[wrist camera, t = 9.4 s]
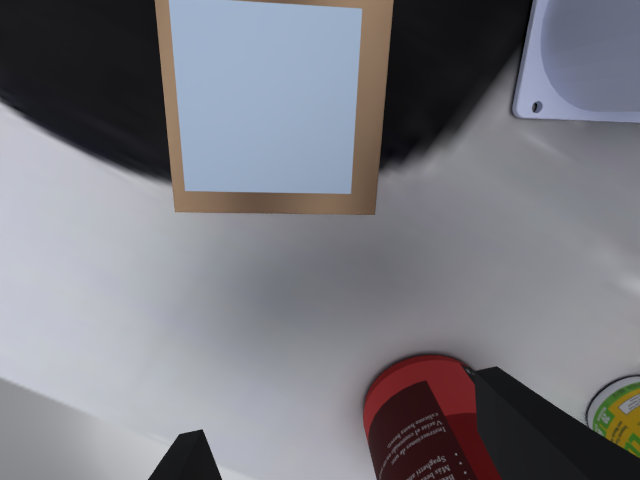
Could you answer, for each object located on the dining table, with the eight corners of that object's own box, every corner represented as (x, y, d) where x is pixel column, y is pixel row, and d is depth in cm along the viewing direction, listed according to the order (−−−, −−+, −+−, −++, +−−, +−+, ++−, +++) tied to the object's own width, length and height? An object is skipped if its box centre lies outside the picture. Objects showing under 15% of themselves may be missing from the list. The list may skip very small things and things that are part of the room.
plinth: (383, 0, 16) (395, -14, 14) (367, 206, 18) (375, 215, 17) (166, -14, 15) (150, -31, 13) (184, 203, 18) (173, 213, 16)
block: (332, 50, 14) (362, 8, 9) (328, 165, 16) (351, 193, 10) (216, 44, 14) (168, -4, 8) (222, 163, 15) (185, 191, 10)
